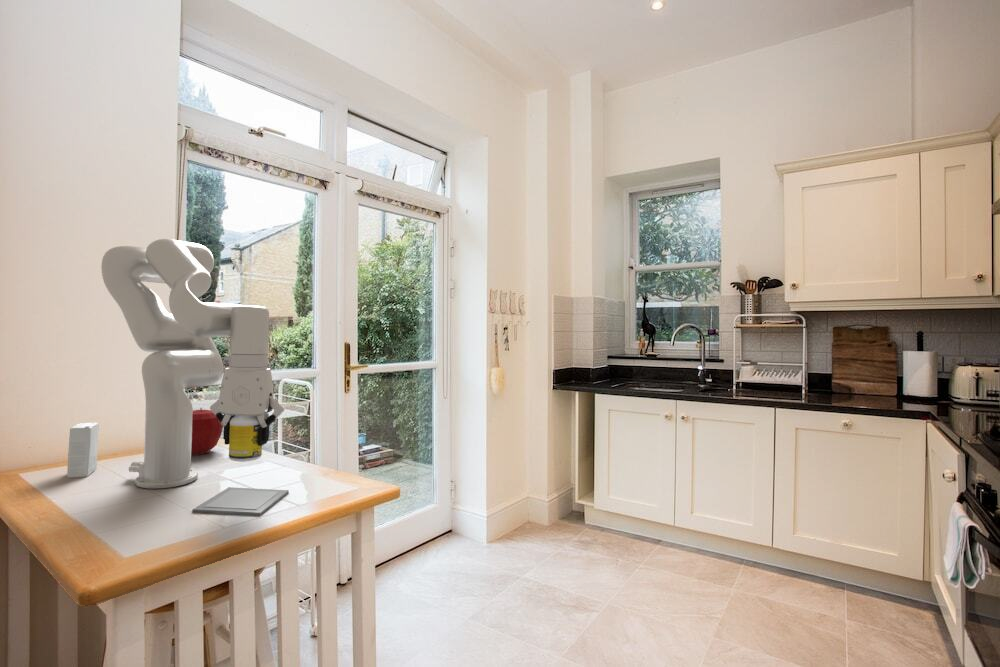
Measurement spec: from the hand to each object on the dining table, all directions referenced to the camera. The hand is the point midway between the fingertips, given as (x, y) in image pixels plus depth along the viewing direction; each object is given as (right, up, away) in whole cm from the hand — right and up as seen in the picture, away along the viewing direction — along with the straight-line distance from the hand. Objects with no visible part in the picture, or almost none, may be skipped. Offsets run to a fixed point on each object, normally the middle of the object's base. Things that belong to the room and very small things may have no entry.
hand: (246, 443), depth 111 cm
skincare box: (-47, -11, +13) cm, 50 cm away
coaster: (-1, -13, 0) cm, 13 cm away
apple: (-32, -11, +36) cm, 49 cm away
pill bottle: (0, -4, 0) cm, 4 cm away
